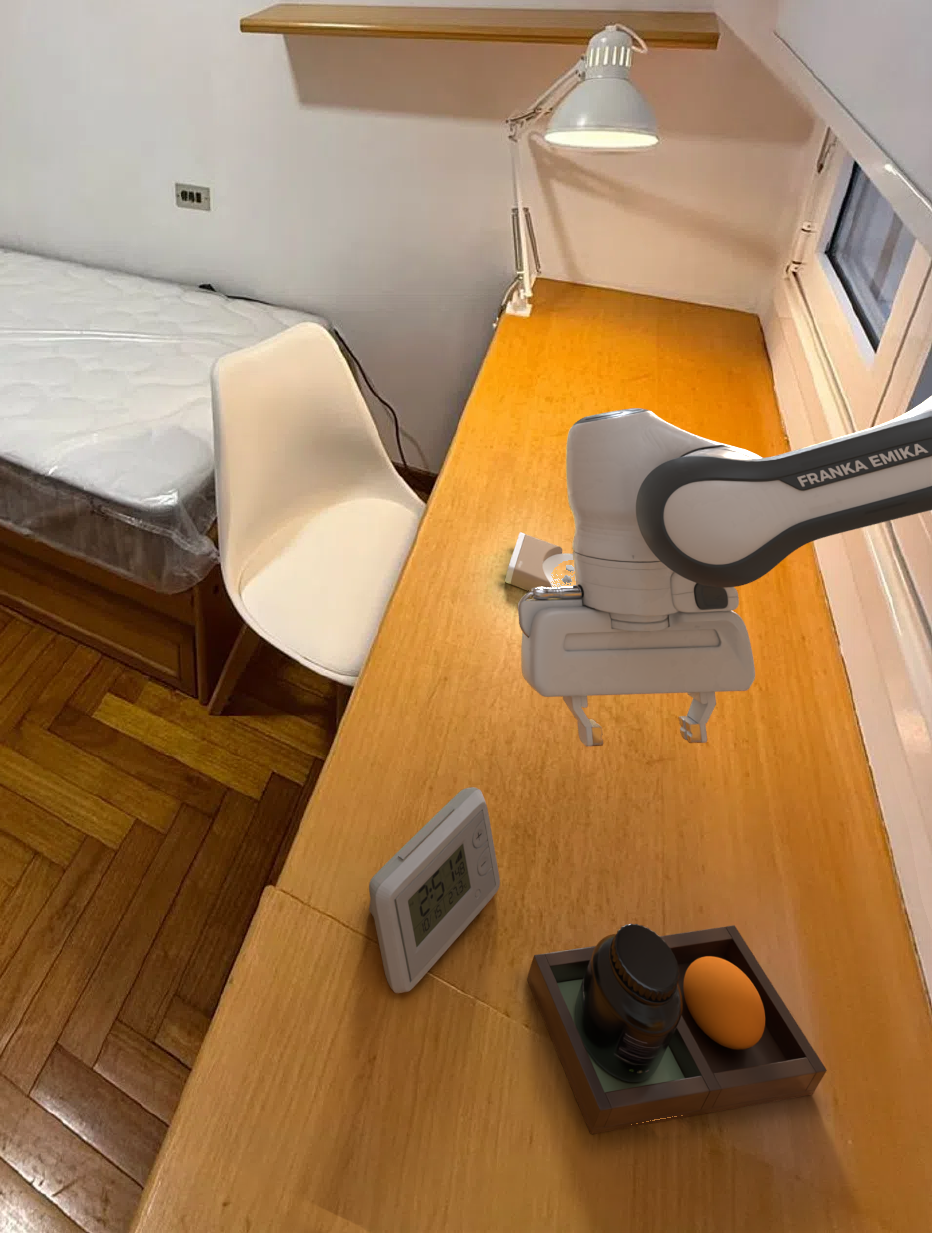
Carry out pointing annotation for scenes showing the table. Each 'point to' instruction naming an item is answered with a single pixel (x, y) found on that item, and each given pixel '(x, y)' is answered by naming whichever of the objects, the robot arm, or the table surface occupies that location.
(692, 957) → the tray
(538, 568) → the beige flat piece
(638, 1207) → the table surface
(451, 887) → the digital clock
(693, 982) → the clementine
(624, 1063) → the supplement bottle
